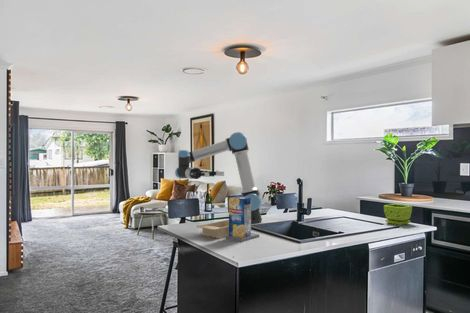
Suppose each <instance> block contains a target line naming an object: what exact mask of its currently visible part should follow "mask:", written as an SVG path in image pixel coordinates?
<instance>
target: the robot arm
mask: <svg viewBox="0 0 470 313" xmlns="http://www.w3.org/2000/svg"><path fill="white" fill-rule="evenodd" d="M229 136H230V137H226V138H225V139H224V140H223V141H220V142H216V143H214V144H210V145H208V146H204V147H202V148H198V149H195V150H192V151H190V150H188V149H187V150H186V149H185V150H183V149H180V150H179V151H178V155H177V156H178V167H177V168H176V169H175V171H174V174H175V177H177V178H178V179H188V180H198V179H200V178H201V177H204V178H206V177H207V178H208V177H210V176H216V177H217V176H220V177H224V176H225V171H218V170H216V171H215V170H213V171H208V170H202V169H200V168H199V167H190V164H191V163H194V162H197V161H200V160H203V159H207V158H209V157H212V156H215V155H218V154H222V153H224V152H227V151H228V152H231V153H232V155H234V157H235V161H236V165H237V171H238V175H239V180H240V184H241V187H242V190H241V197H251V224H259V223H258V222H260V223H262V222H263V218H262V215H261V211H260V207H261V204H262V201H261V197H260V194H261V193H260V190H259V189H258V188H257V187H256V185H255V182H254V177H253V172H252V168H251V162H250V160H249V156H248V154H249V153H248V152H249V151H250V150H249V145H248V139H247V136H246V135H245V133H242V132H241V131H237V132H234V133H232V134H231V135H229ZM261 221H262V222H261Z"/></svg>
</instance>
